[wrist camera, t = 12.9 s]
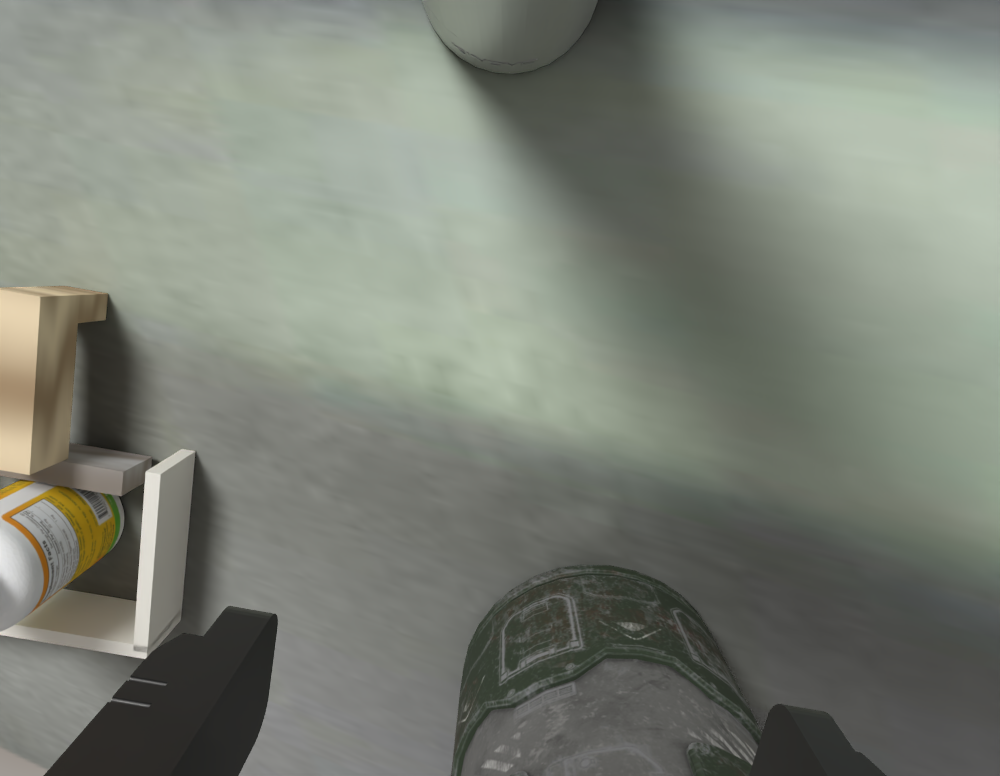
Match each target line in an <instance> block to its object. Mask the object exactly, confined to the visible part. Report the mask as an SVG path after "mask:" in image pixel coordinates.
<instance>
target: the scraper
mask: <svg viewBox="0 0 1000 776" xmlns="http://www.w3.org/2000/svg"><path fill="white" fill-rule="evenodd" d="M107 299H108V294H107V293H101V292H96V291H90V290H85V289H79V288H73V287H68V286H47V287H6V288H0V476H5V477H11V478H17V479H23V480H29V481H35V482H41V483H47V484H52V485H58V486H64V487H70V488H76V489H82V490H88V491H94V492H99V493H105V494H111V495H117V496H123V495H124V494H126V493H128V492H129V491H131V490H133V489H135V488H136V487H138V486H140V485H142V484H143V483H145V473H146V471H147V470H149V469H150V468H151V466H152V457H151V456H145V455H139V454H133V453H128V452H122V451H116V450H110V449H104V448H98V447H93V446H87V445H81V444H75V443H69V440H70V426H71V412H72V398H73V384H74V370H75V356H76V342H77V328H78V323H84V322H93V321H102V320H106V312H107Z"/></svg>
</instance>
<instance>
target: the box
mask: <svg viewBox="0 0 1000 776" xmlns="http://www.w3.org/2000/svg"><path fill="white" fill-rule="evenodd" d="M194 462H195V451H191V450H185V449H181V450H179V451H178V452H176V453H175V454H173V455H171V456H170V457H168V458H167V459H165V460H163V461H162V462H160V463H159V464H157V465H155V466H154V467H152V468H150V469H149V470H147V471H146V473H145V487H144V502H143V516H142V530H141V544H140V559H139V573H138V587H137V601H133V600H127V599H121V598H115V597H109V596H103V595H97V594H91V593H85V592H79V591H73V590H67V589H61V590H60V591H59V592H57V593H56V594H55V595H53V596H52V597H51V598H50V599H48V600H47V601H46V602H44V603H43V604H42V605H41V606H39V607H38V608H37V609H35V610H34V611H33V612H32V613H30V614H29V615H28V616H27V617H25V618H24V619H22V620H21V621H20V622H18V623H17V624H15V625H13V626H12V627H10V628H8V629H6V630H3V631H1V632H0V635H4V636H10V637H16V638H22V639H28V640H34V641H40V642H46V643H52V644H58V645H64V646H70V647H76V648H82V649H88V650H94V651H100V652H106V653H112V654H118V655H124V656H130V657H136V658H142V659H146V658H147V657H148V656H149V654H150V653H151V652H152V651H154V650H155V649H156V648H157V647H158V646H159V645H160V644H161V642H162V641H163V640H164V639H165V638H166V637H167V636H168V634H169V633H170V632H171V631H172V630H173V629H174V627H175V626H176V625H177V624H178V623H179V622H180V621H181V613H182V602H183V590H184V578H185V567H186V555H187V544H188V532H189V520H190V509H191V497H192V486H193V474H194Z"/></svg>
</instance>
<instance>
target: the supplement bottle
mask: <svg viewBox="0 0 1000 776" xmlns="http://www.w3.org/2000/svg"><path fill="white" fill-rule="evenodd" d="M123 528H124V510H123V506H122V503H121V501H120V498H119V496H117V495H111V494H105V493H99V492H94V491H88V490H82V489H76V488H70V487H64V486H58V485H52V484H47V483H41V482H35V481H29V480H23V479H22V480H20V481H17V482H15V483H13V484H11V485H9V486H7V487H5V488H3V489H1V490H0V632H1V631H3V630H6V629H8V628H10V627H12V626H13V625H15V624H17V623H18V622H20V621H21V620H22V619H24V618H25V617H27V616H28V615H29V614H30V613H32V612H33V611H34V610H35V609H37V608H38V607H39V606H41V605H42V604H43V603H44V602H46V601H47V600H48V599H50V598H51V597H52V596H53V595H55V594H56V593H57V592H59V591H60V590H61V589H62V588H64V587H65V586H66V585H68V584H69V583H70V582H72V581H73V580H74V579H75V578H77V577H78V576H79V575H81V574H82V573H83V572H84V571H86V570H87V569H88V568H90V567H91V566H92V565H94V564H95V563H96V562H97V561H99V560H100V559H101V558H103V557H104V556H105V555H106V554H107V553H108V552H110V551H111V550H112V549H113V548H114V546H115V545H116V544H117V542H118V540H119V539H120V537H121V534H122V531H123Z"/></svg>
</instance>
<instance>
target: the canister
mask: <svg viewBox="0 0 1000 776" xmlns="http://www.w3.org/2000/svg"><path fill="white" fill-rule="evenodd" d="M761 736H762V732H761V730H760V728H759V726H758V724H757V722H756V720H755V718H754V716H753V714H752V713H751V711H750V709H749V707H748V705H747V703H746V701H745V699H744V697H743V695H742V693H741V691H740V689H739V688H738V686H737V684H736V682H735V680H734V678H733V676H732V674H731V672H730V670H729V668H728V666H727V664H726V663H725V661H724V659H723V657H722V655H721V653H720V651H719V649H718V647H717V645H716V643H715V641H714V640H713V638H712V636H711V634H710V632H709V630H708V629H707V627H706V625H705V624H704V622H703V621H702V619H701V618H700V616H699V614H698V613H697V611H696V610H695V609H694V608H693V607H692V606H691V605H690V604H689V603H688V602H687V601H686V600H685V599H684V598H683V597H682V596H681V595H680V594H679V593H677V592H676V591H674V590H673V589H671V588H670V587H668V586H667V585H665V584H664V583H662V582H661V581H658V580H656V579H653V578H651V577H649V576H646V575H644V574H642V573H639V572H637V571H633V570H629V569H624V568H619V567H614V566H606V565H577V566H569V567H562V568H557V569H554V570H552V571H549V572H546V573H543V574H540V575H537V576H535V577H533V578H531V579H529V580H528V581H526V582H524V583H522V584H521V585H519V586H517V587H516V588H514V589H512V590H511V591H510V592H508V593H507V594H506V595H505V596H504V597H503V598H502V599H500V600H499V601H498V602H497V603H496V604H495V605H494V606H493V607H492V609H491V610H490V611H489V612H488V614H487V615H486V616H485V618H484V619H483V620H482V621H481V623H480V624H479V626H478V628H477V630H476V632H475V634H474V636H473V638H472V640H471V642H470V644H469V647H468V651H467V655H466V659H465V664H464V668H463V676H462V683H461V689H460V698H459V707H458V716H457V726H456V735H455V744H454V753H453V763H452V772H451V776H749V774H750V771H751V767H752V764H753V761H754V758H755V755H756V752H757V749H758V745H759V742H760V739H761Z"/></svg>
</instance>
